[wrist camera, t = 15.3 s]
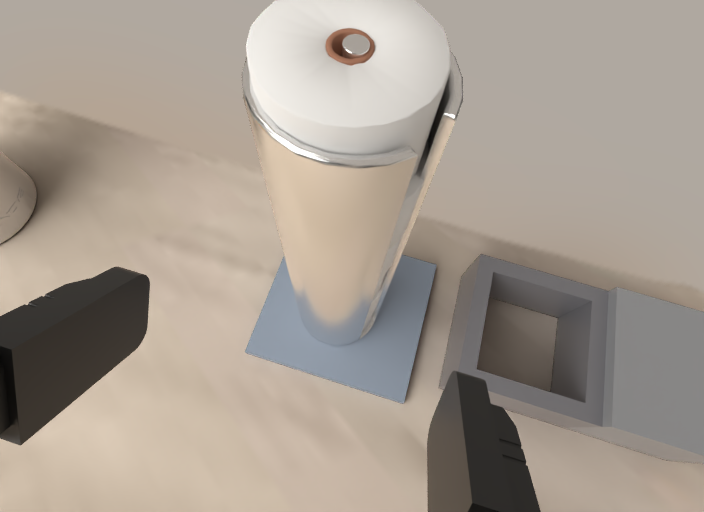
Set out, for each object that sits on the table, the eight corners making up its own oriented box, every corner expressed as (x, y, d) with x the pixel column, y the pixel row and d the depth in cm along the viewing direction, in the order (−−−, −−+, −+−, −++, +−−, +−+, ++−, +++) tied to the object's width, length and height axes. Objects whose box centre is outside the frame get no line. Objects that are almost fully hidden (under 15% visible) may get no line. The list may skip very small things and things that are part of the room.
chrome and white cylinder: (310, 356, 32) (260, 166, 9) (291, 281, 34) (213, -17, 12) (387, 333, 33) (517, 111, 10) (363, 262, 35) (425, -47, 13)
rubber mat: (246, 353, 33) (244, 351, 32) (297, 227, 37) (297, 223, 37) (402, 403, 32) (404, 403, 31) (434, 268, 36) (436, 264, 36)
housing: (438, 388, 32) (460, 379, 27) (461, 276, 36) (485, 248, 31) (666, 460, 31) (739, 467, 26) (665, 336, 35) (727, 318, 29)
